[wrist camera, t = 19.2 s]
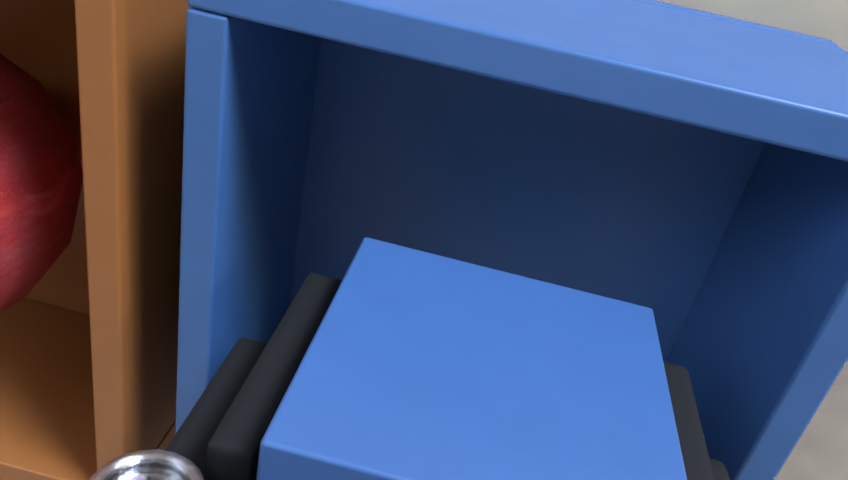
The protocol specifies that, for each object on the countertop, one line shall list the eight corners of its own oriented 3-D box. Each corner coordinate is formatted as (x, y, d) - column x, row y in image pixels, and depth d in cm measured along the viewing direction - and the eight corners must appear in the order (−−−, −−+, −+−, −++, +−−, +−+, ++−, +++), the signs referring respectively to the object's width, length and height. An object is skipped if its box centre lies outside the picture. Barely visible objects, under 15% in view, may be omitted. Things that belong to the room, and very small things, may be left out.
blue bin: (312, -78, 14) (185, -40, 9) (832, 40, 14) (981, 145, 9) (266, 362, 20) (171, 529, 15) (637, 458, 19) (664, 665, 14)
